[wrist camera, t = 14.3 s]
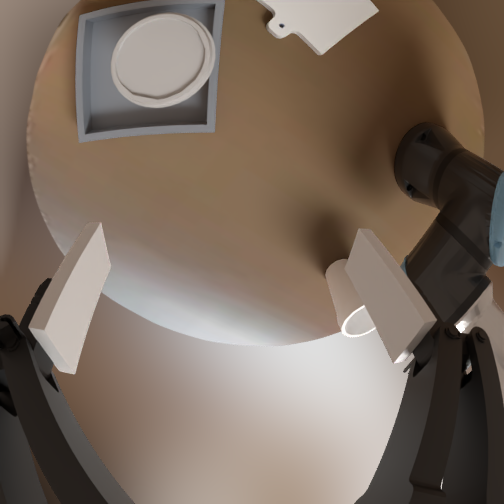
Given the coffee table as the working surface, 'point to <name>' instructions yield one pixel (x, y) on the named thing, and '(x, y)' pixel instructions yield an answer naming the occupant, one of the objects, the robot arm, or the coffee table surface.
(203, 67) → the disposable coffee cup
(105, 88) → the slate tray
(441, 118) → the coffee table surface
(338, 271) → the foam cup
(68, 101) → the coffee table surface
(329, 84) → the coffee table surface
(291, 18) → the mounting plate
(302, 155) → the coffee table surface
